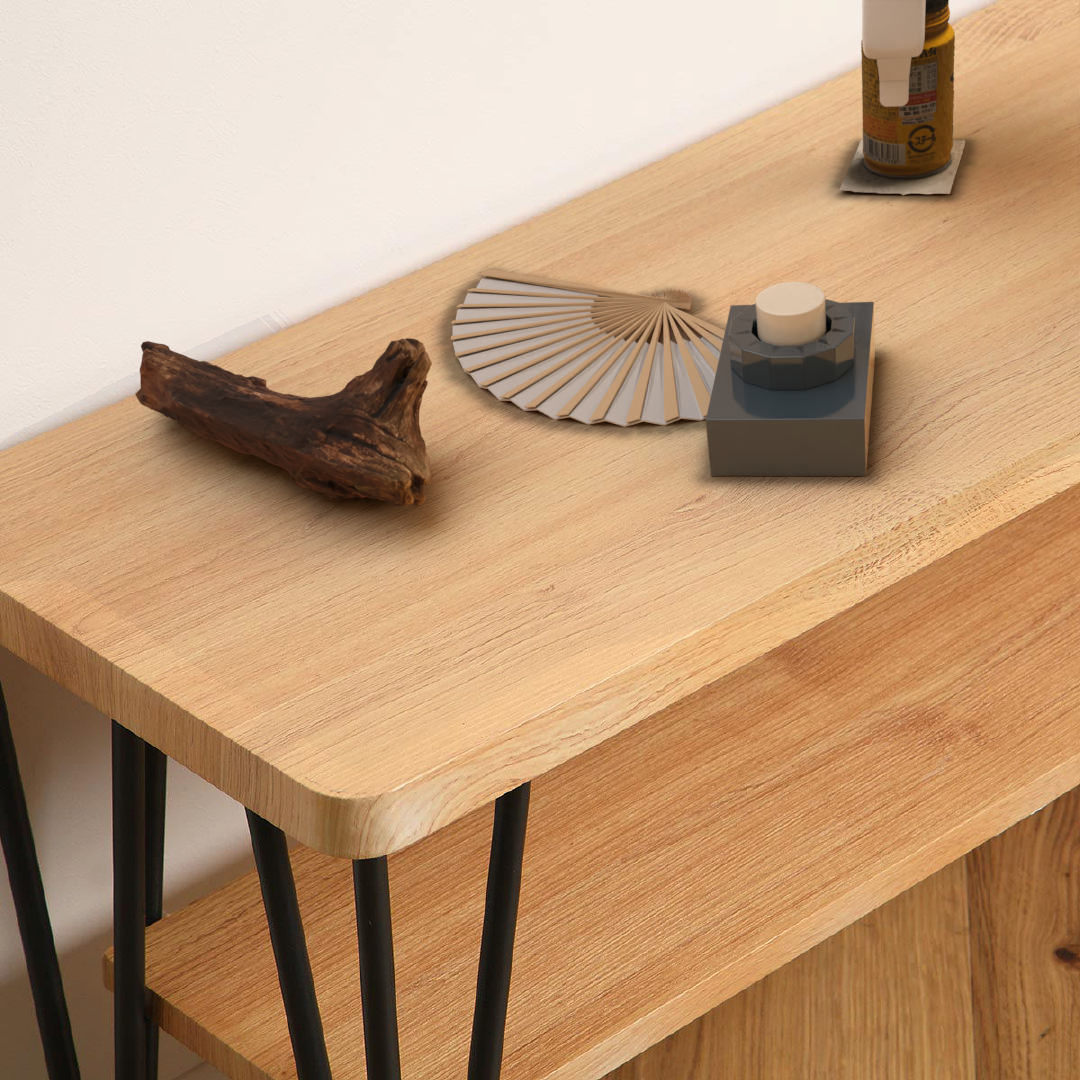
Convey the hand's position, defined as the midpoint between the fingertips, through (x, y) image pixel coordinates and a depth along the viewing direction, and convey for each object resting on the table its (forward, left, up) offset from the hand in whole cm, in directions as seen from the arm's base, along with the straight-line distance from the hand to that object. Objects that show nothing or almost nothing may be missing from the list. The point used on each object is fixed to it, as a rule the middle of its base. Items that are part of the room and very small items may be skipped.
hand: (896, 74), depth 108 cm
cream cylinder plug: (+4, +31, -2) cm, 32 cm away
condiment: (-1, 0, -7) cm, 7 cm away
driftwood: (+32, +35, -7) cm, 48 cm away
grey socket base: (+5, +31, -7) cm, 32 cm away
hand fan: (+16, +24, -7) cm, 30 cm away
